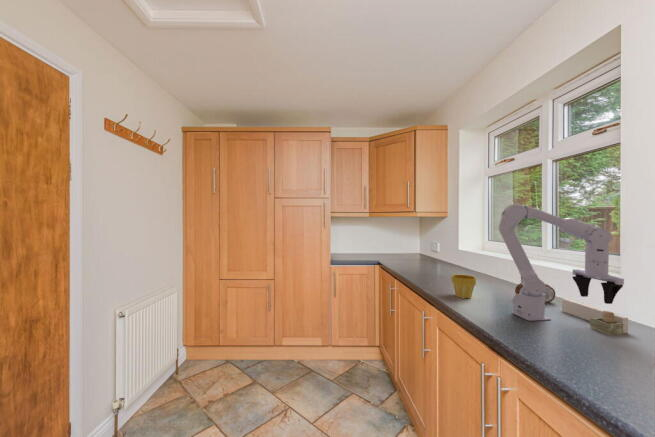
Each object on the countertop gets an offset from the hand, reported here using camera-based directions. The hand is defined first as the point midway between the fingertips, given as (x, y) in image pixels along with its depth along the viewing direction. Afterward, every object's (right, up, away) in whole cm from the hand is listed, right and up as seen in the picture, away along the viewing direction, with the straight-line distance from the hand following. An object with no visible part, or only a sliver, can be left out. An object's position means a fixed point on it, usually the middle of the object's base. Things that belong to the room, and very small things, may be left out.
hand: (595, 299), depth 91 cm
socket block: (0, -10, -4) cm, 10 cm away
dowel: (0, -9, -4) cm, 10 cm away
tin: (0, -9, +26) cm, 28 cm away
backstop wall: (+3, -9, +5) cm, 11 cm away
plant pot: (-29, -9, +33) cm, 45 cm away
